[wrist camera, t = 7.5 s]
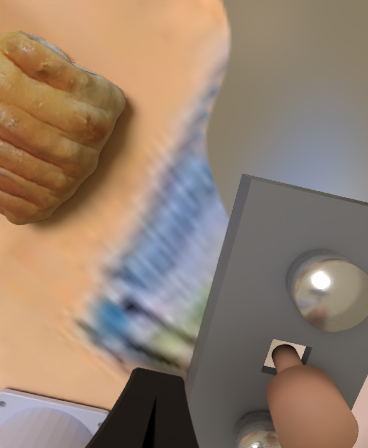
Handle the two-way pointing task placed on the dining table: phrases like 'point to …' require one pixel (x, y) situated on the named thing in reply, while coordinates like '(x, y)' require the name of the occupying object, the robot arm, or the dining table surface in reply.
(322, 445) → the middle knob
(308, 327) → the knob panel
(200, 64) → the dining table surface
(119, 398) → the robot arm
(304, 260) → the near knob
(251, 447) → the far knob
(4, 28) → the dining table surface
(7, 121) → the pastry
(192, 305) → the dining table surface
